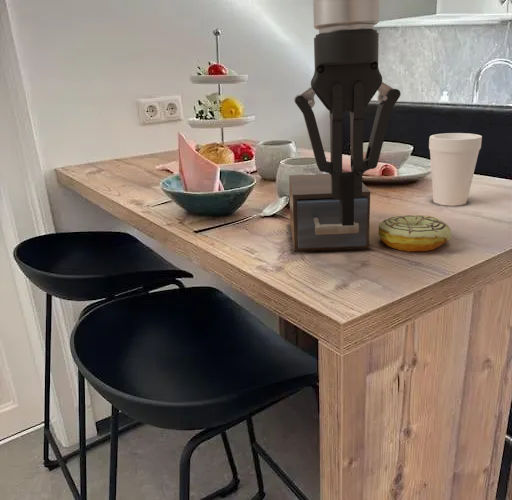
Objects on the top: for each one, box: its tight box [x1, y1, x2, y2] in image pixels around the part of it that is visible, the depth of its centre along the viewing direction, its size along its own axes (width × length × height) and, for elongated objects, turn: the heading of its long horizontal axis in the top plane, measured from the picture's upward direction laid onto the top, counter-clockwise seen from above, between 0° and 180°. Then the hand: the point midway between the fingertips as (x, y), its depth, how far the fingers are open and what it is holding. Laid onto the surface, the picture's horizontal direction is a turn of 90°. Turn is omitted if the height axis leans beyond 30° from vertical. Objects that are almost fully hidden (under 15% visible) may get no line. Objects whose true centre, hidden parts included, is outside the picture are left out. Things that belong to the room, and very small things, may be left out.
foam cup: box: [428, 132, 483, 207], centre depth 99 cm, size 10×9×13 cm
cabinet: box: [288, 173, 371, 252], centre depth 83 cm, size 15×12×9 cm
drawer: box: [297, 198, 368, 248], centre depth 79 cm, size 19×10×7 cm, turn 179°
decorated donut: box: [378, 214, 453, 253], centre depth 79 cm, size 10×11×4 cm
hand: (346, 222), depth 67 cm, fingers closed
